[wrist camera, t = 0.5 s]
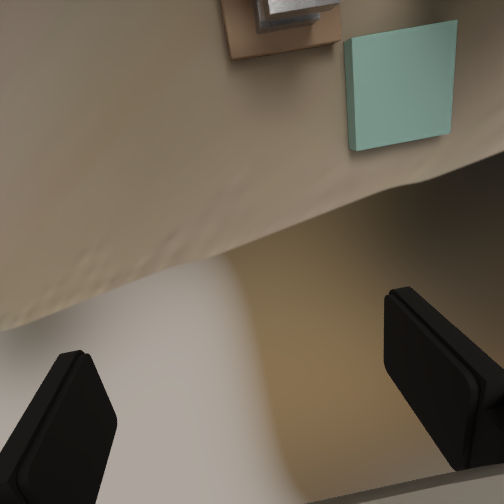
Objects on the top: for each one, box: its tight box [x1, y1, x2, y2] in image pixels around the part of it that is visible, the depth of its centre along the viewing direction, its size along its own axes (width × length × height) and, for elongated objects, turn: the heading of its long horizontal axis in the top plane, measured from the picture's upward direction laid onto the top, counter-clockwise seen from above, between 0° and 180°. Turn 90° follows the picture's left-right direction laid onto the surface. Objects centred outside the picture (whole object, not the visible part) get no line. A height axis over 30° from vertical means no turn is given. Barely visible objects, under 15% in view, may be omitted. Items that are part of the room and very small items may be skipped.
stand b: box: [344, 19, 458, 151], centre depth 34 cm, size 10×10×2 cm
